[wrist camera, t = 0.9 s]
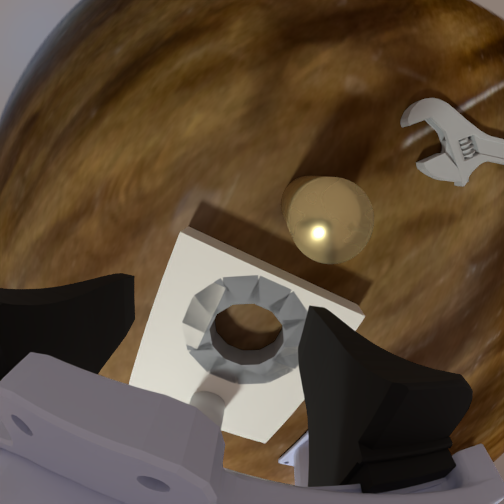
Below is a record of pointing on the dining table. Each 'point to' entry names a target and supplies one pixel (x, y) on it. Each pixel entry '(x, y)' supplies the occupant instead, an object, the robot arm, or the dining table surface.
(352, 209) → the brass cylinder
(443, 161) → the adjustable wrench
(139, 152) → the dining table surface
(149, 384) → the board
